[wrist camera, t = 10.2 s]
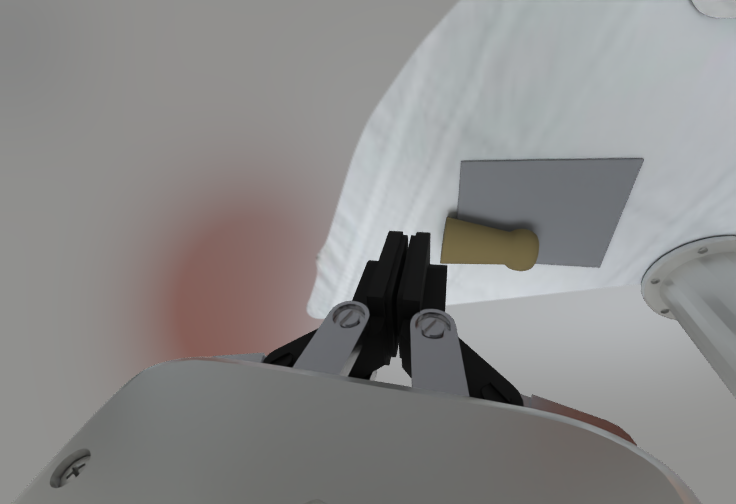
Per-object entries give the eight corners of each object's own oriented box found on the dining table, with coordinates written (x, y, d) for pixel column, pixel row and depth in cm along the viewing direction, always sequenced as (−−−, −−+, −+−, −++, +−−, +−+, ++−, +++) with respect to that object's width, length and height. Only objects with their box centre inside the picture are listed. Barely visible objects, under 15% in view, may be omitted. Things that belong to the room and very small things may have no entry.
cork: (442, 241, 44) (524, 252, 42) (439, 273, 40) (530, 286, 38) (448, 207, 40) (540, 217, 38) (445, 238, 36) (549, 251, 33)
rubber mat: (642, 158, 32) (644, 159, 32) (598, 265, 40) (599, 267, 40) (461, 160, 36) (461, 162, 36) (454, 257, 44) (454, 258, 44)
